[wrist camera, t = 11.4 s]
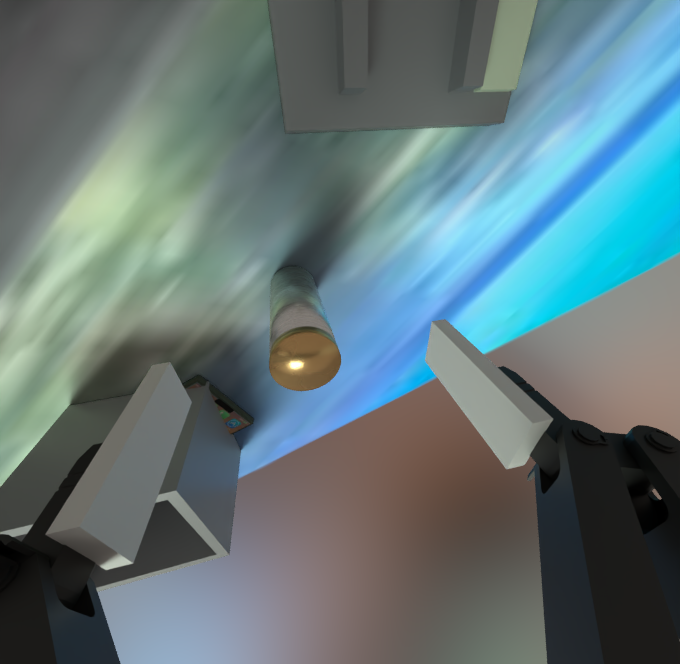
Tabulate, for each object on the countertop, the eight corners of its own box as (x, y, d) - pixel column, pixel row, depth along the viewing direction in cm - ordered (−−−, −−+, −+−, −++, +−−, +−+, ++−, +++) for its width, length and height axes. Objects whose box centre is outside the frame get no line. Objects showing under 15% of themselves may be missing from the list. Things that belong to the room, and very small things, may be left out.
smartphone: (74, 442, 25) (66, 453, 24) (200, 371, 24) (197, 380, 23) (145, 473, 30) (140, 483, 29) (254, 415, 29) (253, 424, 28)
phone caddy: (134, 474, 29) (80, 596, 21) (69, 405, 23) (-47, 543, 14) (240, 450, 31) (229, 555, 23) (208, 380, 24) (176, 490, 16)
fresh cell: (275, 309, 22) (276, 396, 14) (266, 268, 20) (262, 342, 12) (316, 303, 22) (342, 383, 14) (312, 263, 20) (339, 329, 12)
